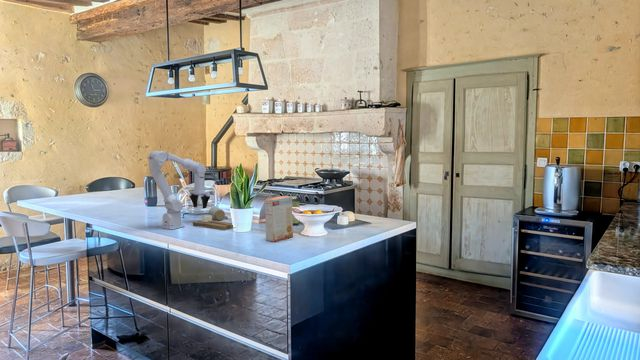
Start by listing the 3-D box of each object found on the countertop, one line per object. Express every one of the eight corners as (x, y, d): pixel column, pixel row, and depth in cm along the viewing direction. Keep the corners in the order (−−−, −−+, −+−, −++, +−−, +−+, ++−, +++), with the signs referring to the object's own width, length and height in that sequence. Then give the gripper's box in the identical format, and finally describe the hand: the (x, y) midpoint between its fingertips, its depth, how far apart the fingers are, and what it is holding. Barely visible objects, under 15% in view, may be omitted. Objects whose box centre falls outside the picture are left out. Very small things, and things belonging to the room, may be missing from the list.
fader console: (223, 230, 248) (223, 226, 247) (193, 225, 260) (192, 222, 260) (236, 227, 256) (236, 223, 256) (206, 222, 269) (206, 219, 269)
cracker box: (284, 235, 234) (284, 195, 232) (293, 237, 231) (293, 196, 229) (264, 240, 224) (264, 198, 222) (273, 242, 220) (273, 199, 218)
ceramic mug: (215, 221, 272) (214, 208, 271) (208, 219, 278) (208, 207, 277) (230, 219, 279) (230, 207, 278) (223, 218, 285) (223, 205, 285)
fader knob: (205, 222, 258) (205, 216, 258) (201, 221, 260) (201, 215, 260) (212, 220, 262) (211, 215, 262) (208, 220, 264) (208, 214, 264)
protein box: (298, 225, 260) (298, 198, 258) (271, 225, 259) (271, 198, 258) (299, 222, 270) (299, 196, 268) (273, 222, 270) (272, 196, 268)
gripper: (213, 184, 264) (214, 207, 265) (195, 183, 272) (196, 205, 273) (204, 185, 258) (204, 209, 259) (186, 184, 266) (187, 207, 267)
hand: (199, 207), depth 266 cm, fingers open, 7 cm apart
